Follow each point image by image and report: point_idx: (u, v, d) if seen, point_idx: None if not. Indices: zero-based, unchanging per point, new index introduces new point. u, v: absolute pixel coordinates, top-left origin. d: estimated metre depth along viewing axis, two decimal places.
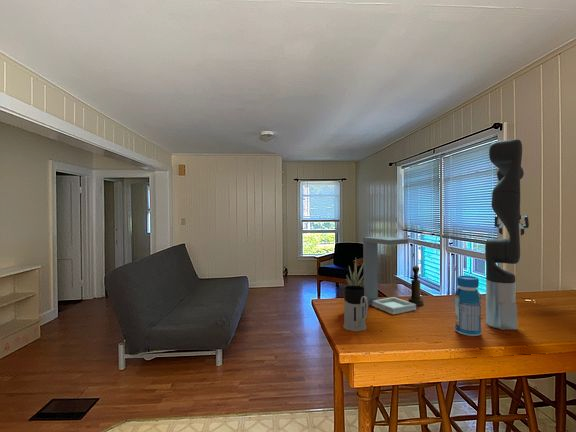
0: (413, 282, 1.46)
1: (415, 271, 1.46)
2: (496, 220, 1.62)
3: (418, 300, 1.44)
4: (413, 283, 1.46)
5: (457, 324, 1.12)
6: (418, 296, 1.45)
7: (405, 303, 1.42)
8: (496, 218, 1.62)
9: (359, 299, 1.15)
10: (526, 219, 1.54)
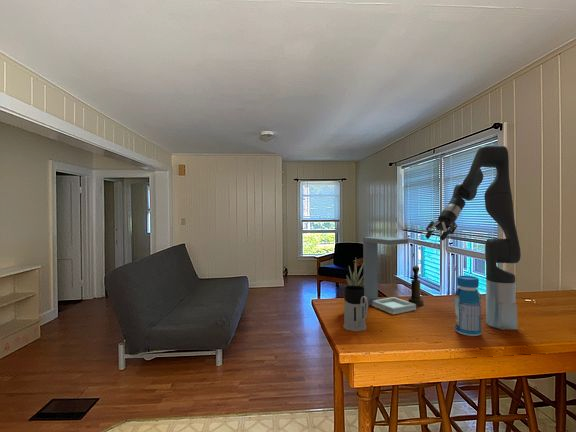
0: (413, 282, 1.46)
1: (415, 271, 1.46)
2: (430, 224, 1.59)
3: (418, 300, 1.44)
4: (413, 283, 1.46)
5: (457, 324, 1.12)
6: (418, 296, 1.45)
7: (405, 303, 1.42)
8: (431, 222, 1.60)
9: (359, 299, 1.15)
10: (453, 224, 1.48)
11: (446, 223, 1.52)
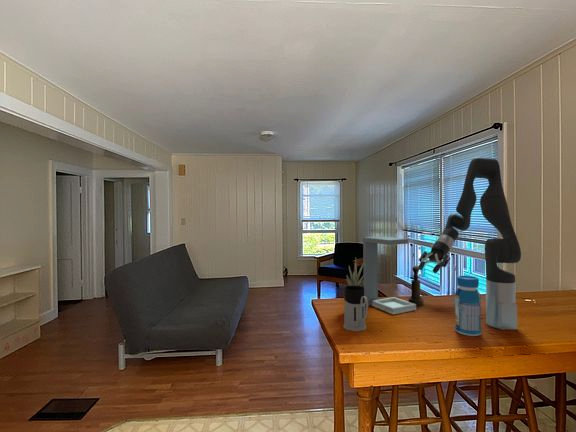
0: (413, 282, 1.46)
1: (415, 271, 1.46)
2: (423, 254, 1.57)
3: (418, 300, 1.44)
4: (413, 283, 1.46)
5: (457, 324, 1.12)
6: (418, 296, 1.45)
7: (405, 303, 1.42)
8: (424, 253, 1.58)
9: (359, 299, 1.15)
10: (445, 256, 1.46)
11: (439, 255, 1.50)
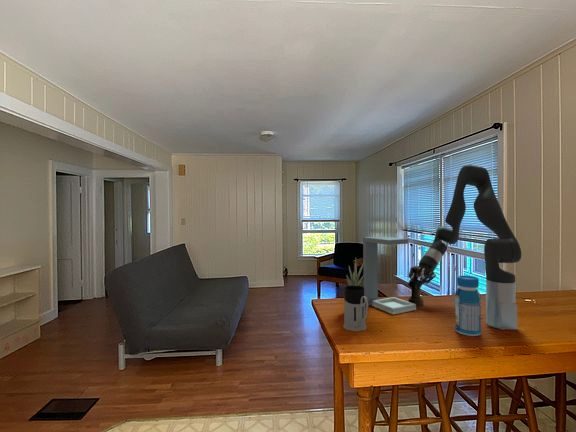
0: (413, 282, 1.46)
1: (415, 271, 1.46)
2: (411, 270, 1.53)
3: (418, 300, 1.44)
4: (413, 283, 1.46)
5: (457, 324, 1.12)
6: (418, 296, 1.45)
7: (405, 303, 1.42)
8: (411, 268, 1.53)
9: (359, 299, 1.15)
10: (431, 273, 1.43)
11: (426, 271, 1.46)
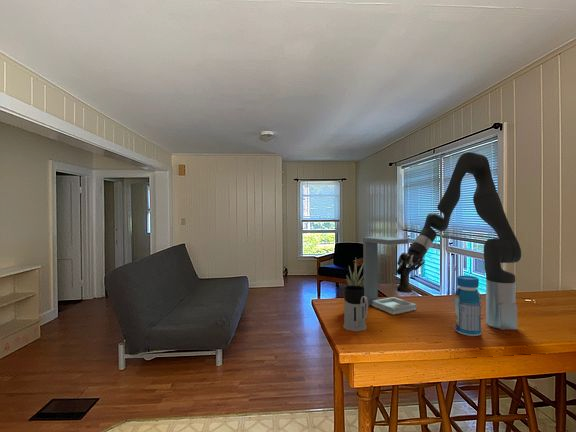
0: (401, 269, 1.43)
1: (403, 258, 1.43)
2: (400, 258, 1.50)
3: (406, 287, 1.41)
4: (401, 270, 1.43)
5: (457, 324, 1.12)
6: (407, 283, 1.42)
7: (405, 303, 1.42)
8: (400, 256, 1.50)
9: (359, 299, 1.15)
10: (419, 260, 1.40)
11: (415, 257, 1.43)
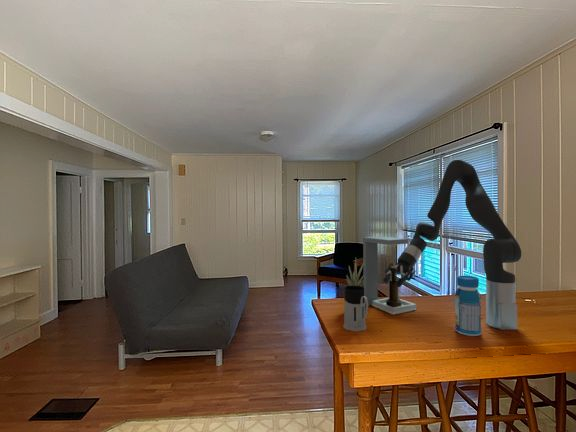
0: (391, 283, 1.40)
1: (393, 272, 1.40)
2: (389, 266, 1.48)
3: (396, 302, 1.38)
4: (391, 284, 1.40)
5: (457, 324, 1.12)
6: (396, 298, 1.39)
7: (405, 303, 1.42)
8: (390, 264, 1.48)
9: (359, 299, 1.15)
10: (410, 269, 1.37)
11: (404, 267, 1.40)
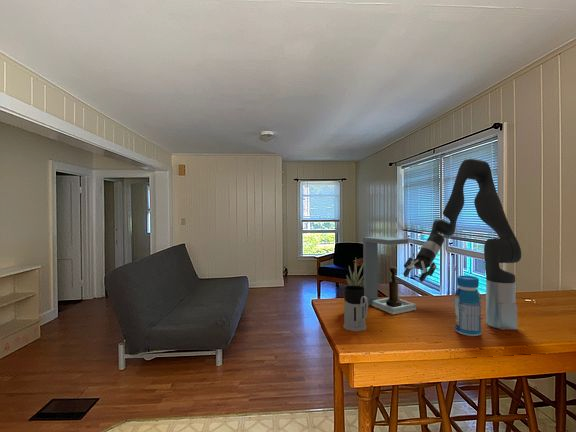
0: (391, 283, 1.40)
1: (393, 272, 1.40)
2: (408, 260, 1.53)
3: (396, 302, 1.38)
4: (391, 284, 1.40)
5: (457, 324, 1.12)
6: (396, 298, 1.39)
7: (405, 303, 1.42)
8: (409, 258, 1.54)
9: (359, 299, 1.15)
10: (432, 264, 1.43)
11: (425, 262, 1.46)
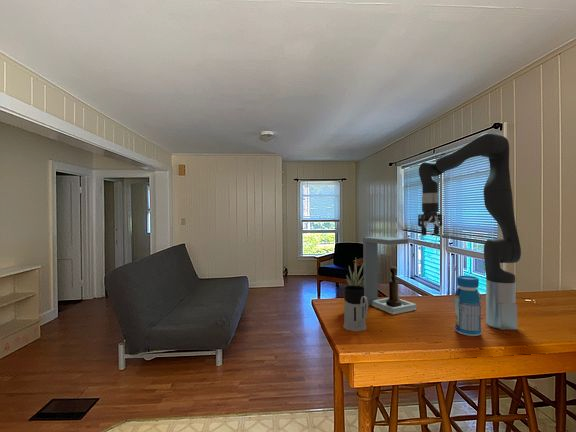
0: (391, 283, 1.40)
1: (393, 272, 1.40)
2: (423, 218, 1.50)
3: (396, 302, 1.38)
4: (391, 284, 1.40)
5: (457, 324, 1.12)
6: (396, 298, 1.39)
7: (405, 303, 1.42)
8: (423, 216, 1.50)
9: (359, 299, 1.15)
10: (441, 216, 1.55)
11: None
